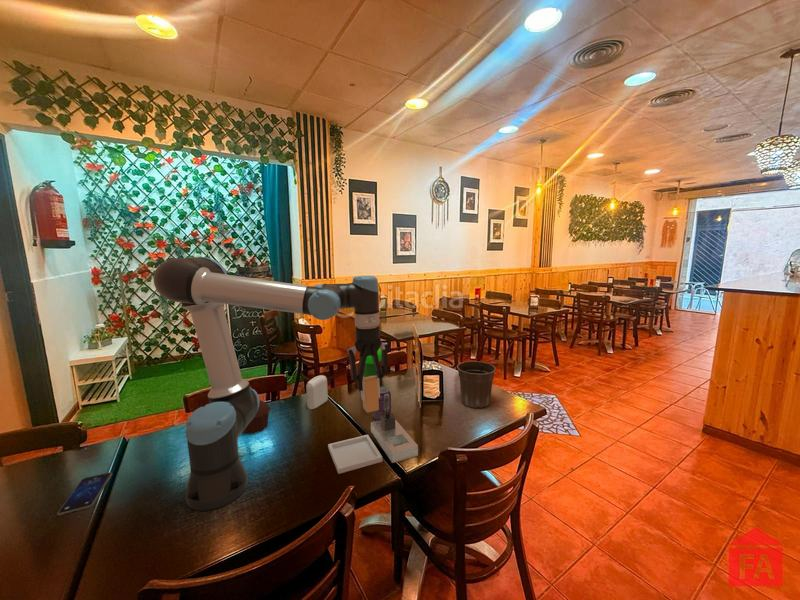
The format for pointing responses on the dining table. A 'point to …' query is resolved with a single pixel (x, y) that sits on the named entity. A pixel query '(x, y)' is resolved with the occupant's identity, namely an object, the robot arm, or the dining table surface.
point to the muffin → (259, 419)
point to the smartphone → (85, 494)
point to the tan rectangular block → (371, 394)
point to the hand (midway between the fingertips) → (370, 397)
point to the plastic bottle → (371, 365)
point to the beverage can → (383, 403)
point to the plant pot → (476, 383)
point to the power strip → (393, 438)
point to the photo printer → (316, 391)
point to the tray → (354, 453)
